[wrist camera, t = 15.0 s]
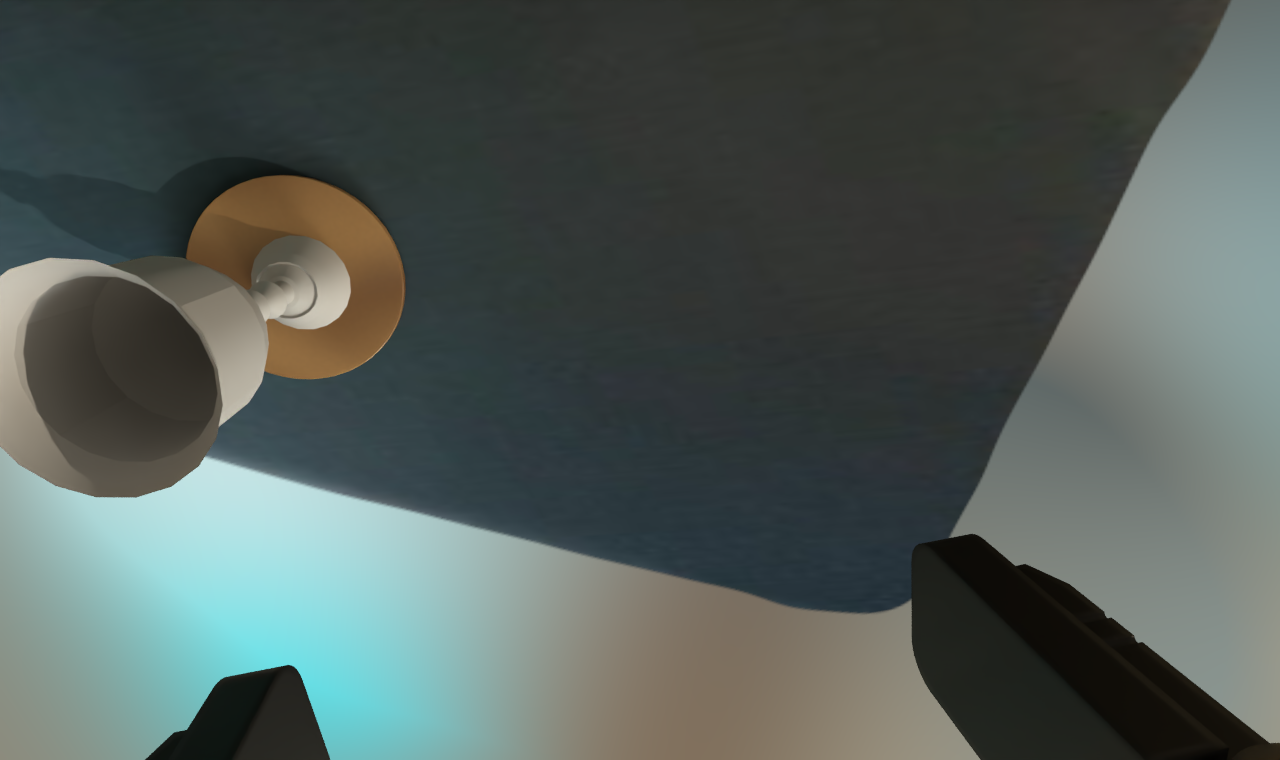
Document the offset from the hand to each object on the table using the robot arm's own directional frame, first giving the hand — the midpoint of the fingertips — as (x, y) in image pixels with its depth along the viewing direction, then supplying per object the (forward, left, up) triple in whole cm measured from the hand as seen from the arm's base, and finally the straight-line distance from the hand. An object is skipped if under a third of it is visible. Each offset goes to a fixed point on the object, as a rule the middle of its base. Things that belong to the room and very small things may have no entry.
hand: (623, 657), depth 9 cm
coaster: (-2, -14, -32) cm, 35 cm away
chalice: (-2, -14, -32) cm, 35 cm away
